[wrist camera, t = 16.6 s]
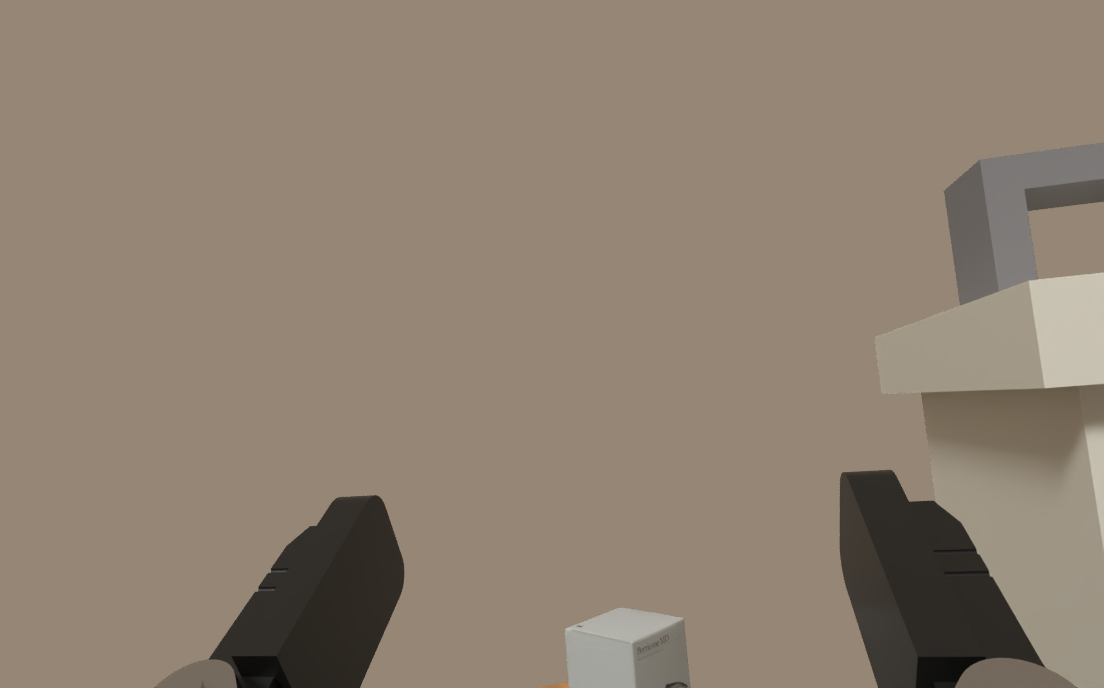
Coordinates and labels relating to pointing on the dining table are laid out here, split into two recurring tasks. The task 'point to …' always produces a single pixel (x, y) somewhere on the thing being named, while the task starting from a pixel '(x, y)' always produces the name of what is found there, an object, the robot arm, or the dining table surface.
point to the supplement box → (627, 651)
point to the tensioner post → (1020, 402)
